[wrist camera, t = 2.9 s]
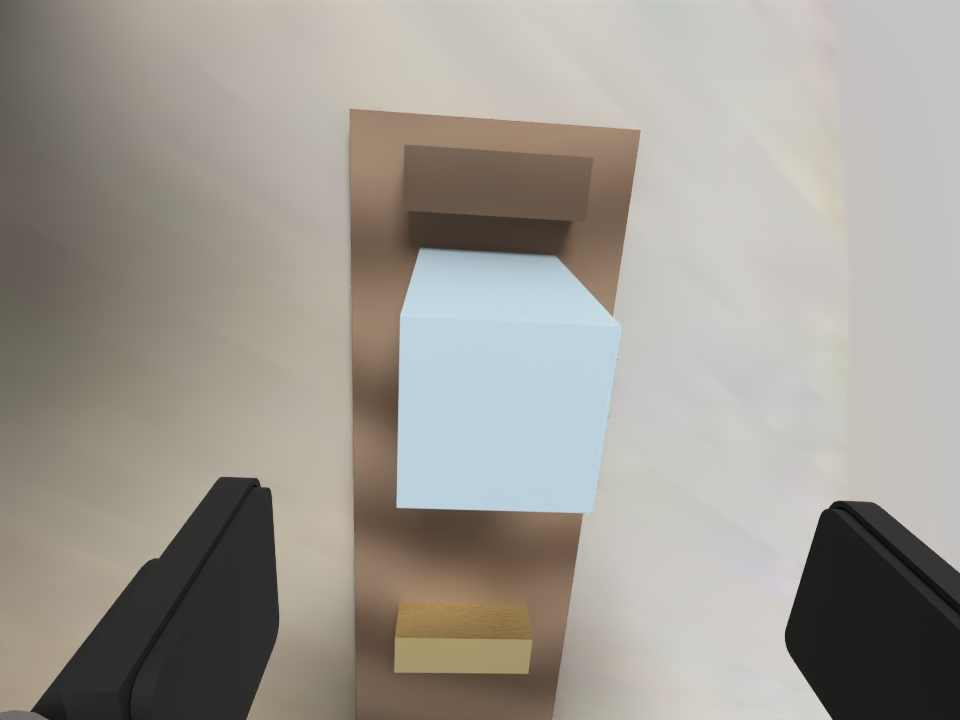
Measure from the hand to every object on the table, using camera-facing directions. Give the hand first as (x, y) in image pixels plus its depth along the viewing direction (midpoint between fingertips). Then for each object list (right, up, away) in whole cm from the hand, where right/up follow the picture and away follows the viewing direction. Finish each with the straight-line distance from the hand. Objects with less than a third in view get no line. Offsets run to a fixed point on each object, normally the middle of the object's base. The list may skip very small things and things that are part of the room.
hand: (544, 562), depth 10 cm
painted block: (-1, +5, +12) cm, 14 cm away
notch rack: (-2, -4, +17) cm, 17 cm away
